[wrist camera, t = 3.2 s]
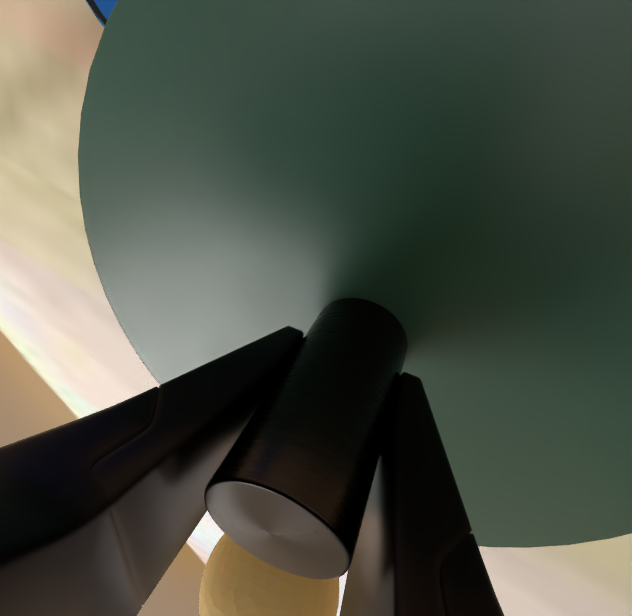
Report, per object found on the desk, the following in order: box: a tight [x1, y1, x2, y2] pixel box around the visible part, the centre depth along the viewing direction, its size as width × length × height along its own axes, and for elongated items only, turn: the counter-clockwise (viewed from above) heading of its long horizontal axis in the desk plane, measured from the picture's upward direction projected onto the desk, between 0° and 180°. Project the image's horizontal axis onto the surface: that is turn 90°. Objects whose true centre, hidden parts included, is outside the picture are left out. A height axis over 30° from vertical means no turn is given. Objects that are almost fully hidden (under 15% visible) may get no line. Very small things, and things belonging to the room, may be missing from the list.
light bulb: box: [199, 534, 339, 616], centre depth 19 cm, size 6×6×10 cm
